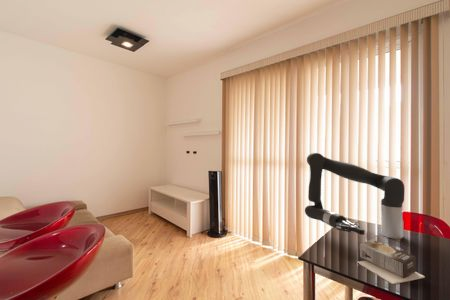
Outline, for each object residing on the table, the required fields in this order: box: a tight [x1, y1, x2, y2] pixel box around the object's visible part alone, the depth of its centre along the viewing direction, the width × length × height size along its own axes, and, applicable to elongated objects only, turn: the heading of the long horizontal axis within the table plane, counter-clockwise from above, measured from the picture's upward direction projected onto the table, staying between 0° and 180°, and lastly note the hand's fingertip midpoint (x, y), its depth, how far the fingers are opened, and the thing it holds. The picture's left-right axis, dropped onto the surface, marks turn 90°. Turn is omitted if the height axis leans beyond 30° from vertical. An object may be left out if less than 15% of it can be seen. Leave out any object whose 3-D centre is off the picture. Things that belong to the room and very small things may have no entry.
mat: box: [356, 259, 426, 285], centre depth 82 cm, size 16×14×1 cm
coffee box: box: [359, 239, 417, 278], centre depth 85 cm, size 9×6×16 cm
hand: (363, 232), depth 93 cm, fingers closed
